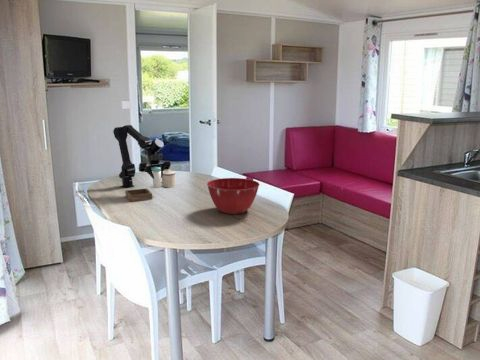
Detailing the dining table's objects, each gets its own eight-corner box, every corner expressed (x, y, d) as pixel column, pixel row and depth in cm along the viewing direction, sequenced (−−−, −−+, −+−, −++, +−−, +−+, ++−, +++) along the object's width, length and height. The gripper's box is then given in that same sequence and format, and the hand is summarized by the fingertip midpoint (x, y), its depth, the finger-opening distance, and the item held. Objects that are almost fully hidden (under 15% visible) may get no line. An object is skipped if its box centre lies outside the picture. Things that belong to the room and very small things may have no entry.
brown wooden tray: (125, 197, 263) (125, 190, 262) (147, 195, 269) (146, 188, 268) (130, 203, 252) (129, 195, 251) (152, 200, 257) (152, 193, 256)
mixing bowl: (223, 200, 259) (223, 175, 256) (267, 207, 246) (268, 180, 243) (197, 213, 235) (196, 185, 231) (244, 221, 222) (244, 192, 219)
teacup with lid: (172, 183, 298) (172, 167, 296) (177, 186, 291) (176, 169, 288) (155, 185, 293) (155, 168, 290) (159, 188, 285) (159, 171, 282)
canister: (152, 186, 265) (151, 167, 262) (160, 185, 267) (159, 166, 264) (155, 189, 259) (154, 169, 256) (163, 188, 261) (162, 168, 258)
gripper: (138, 149, 258) (143, 171, 251) (169, 147, 266) (175, 169, 259) (136, 160, 267) (141, 182, 260) (166, 158, 275) (171, 179, 267)
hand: (157, 177), depth 261 cm, fingers closed on canister, 5 cm apart
